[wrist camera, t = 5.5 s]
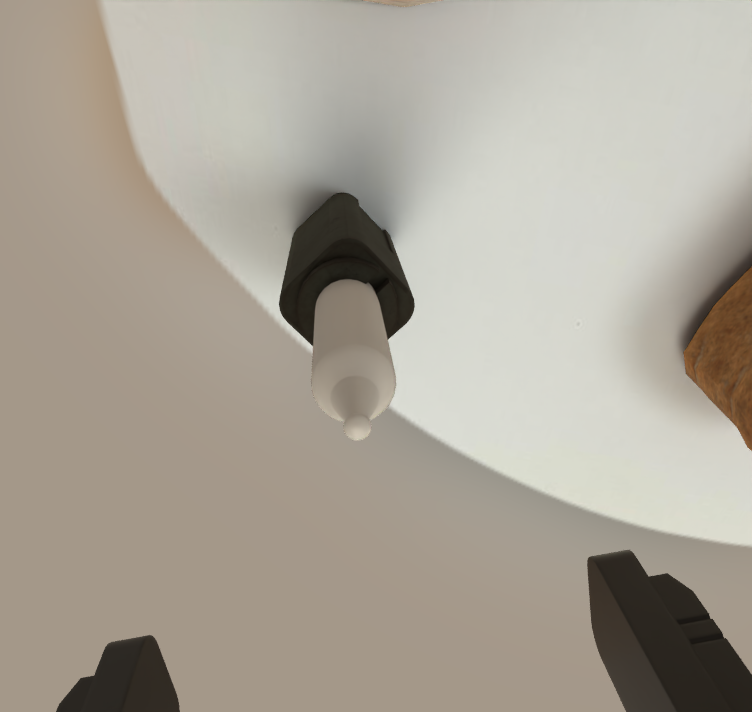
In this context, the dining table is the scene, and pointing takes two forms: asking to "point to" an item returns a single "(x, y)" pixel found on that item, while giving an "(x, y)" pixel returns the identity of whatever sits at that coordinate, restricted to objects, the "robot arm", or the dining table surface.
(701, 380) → the bread
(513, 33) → the dining table surface
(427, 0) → the bowl
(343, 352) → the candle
